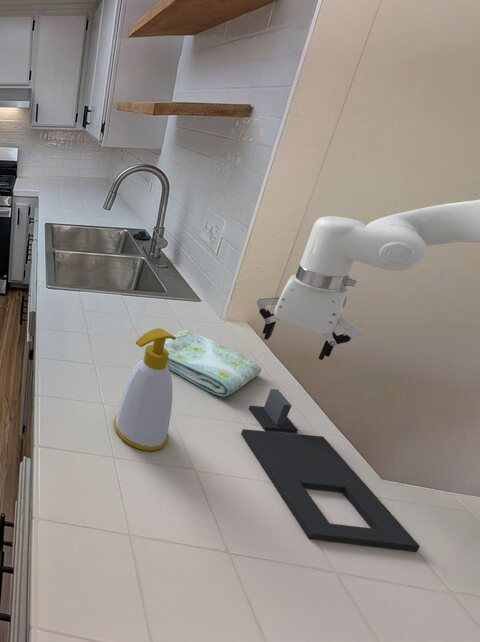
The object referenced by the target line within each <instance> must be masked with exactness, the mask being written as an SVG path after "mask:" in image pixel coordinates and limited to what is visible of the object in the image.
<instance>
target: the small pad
mask: <svg viewBox="0 0 480 642" xmlns="http://www.w3.org/2000/svg"><path fill="white" fill-rule="evenodd" d="M291 409H292V404H291V403H290V402H289V400H288V399H287V398H286V396H284V395H283V394H282V392H281V391H280V390H279V389H277V388H270V389H269V393H268V395H267V398H266V401H265V403H264V406H261V405H249V407H248V410H249V411H250V413H251V414H252V415H253V416H254V418H255V419H256V421H257V422H258V423H259V425H260V426H261V428H262V429H263V431H268V432H279V433H290V434H298V432H299V429H298V428H297V426H295V424H294V423H293V422H292V421H291V419H289V417H288V416H289V413H290V410H291Z"/></svg>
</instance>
